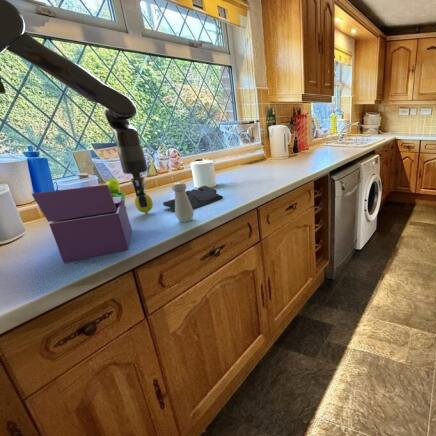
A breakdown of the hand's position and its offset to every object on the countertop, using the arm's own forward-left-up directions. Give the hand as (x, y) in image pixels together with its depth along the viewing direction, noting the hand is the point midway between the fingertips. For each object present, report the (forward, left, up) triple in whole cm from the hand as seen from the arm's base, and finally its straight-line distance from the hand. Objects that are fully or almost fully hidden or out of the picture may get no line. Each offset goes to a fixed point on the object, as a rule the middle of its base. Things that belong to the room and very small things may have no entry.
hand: (144, 204), depth 111 cm
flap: (-11, -36, +12) cm, 39 cm away
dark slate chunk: (+17, +5, -4) cm, 18 cm away
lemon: (0, 0, -4) cm, 4 cm away
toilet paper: (+26, +34, -4) cm, 43 cm away
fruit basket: (-12, +19, -4) cm, 23 cm away
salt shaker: (+12, -17, -4) cm, 21 cm away
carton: (-11, -25, -3) cm, 28 cm away
